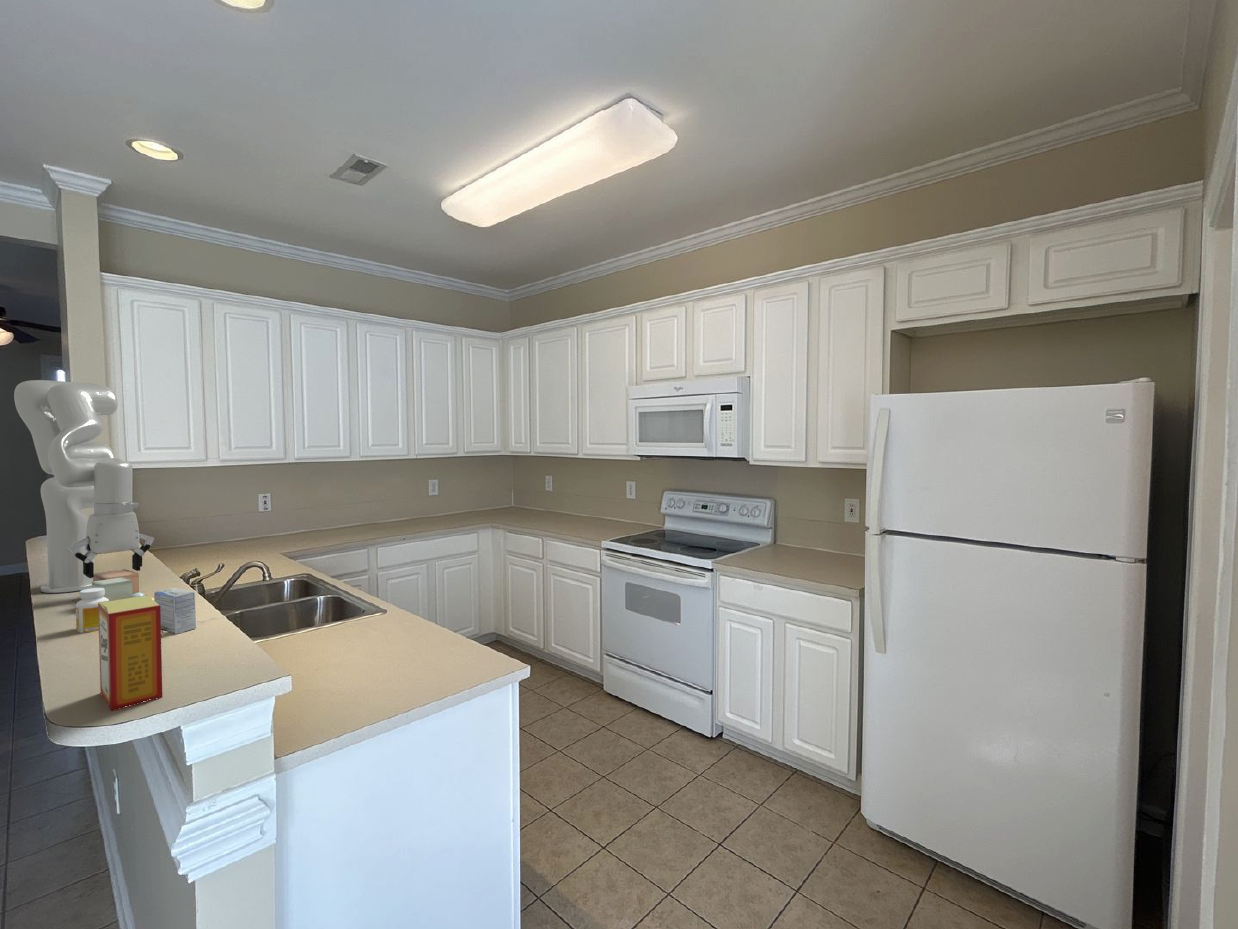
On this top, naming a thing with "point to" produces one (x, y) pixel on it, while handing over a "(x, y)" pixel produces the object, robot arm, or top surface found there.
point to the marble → (137, 594)
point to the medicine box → (176, 609)
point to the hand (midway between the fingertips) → (113, 573)
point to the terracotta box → (120, 573)
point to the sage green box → (115, 588)
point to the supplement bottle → (89, 609)
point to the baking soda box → (130, 651)
